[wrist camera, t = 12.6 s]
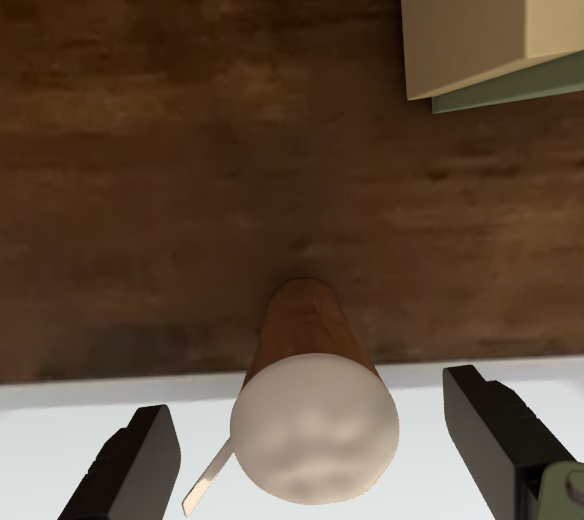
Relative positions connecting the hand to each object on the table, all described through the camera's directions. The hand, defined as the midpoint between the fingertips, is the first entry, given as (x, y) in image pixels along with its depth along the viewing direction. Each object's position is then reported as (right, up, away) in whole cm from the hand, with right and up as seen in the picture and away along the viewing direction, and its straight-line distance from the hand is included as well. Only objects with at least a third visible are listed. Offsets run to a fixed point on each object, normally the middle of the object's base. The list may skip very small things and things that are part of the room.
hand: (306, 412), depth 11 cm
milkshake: (0, +2, +7) cm, 7 cm away
